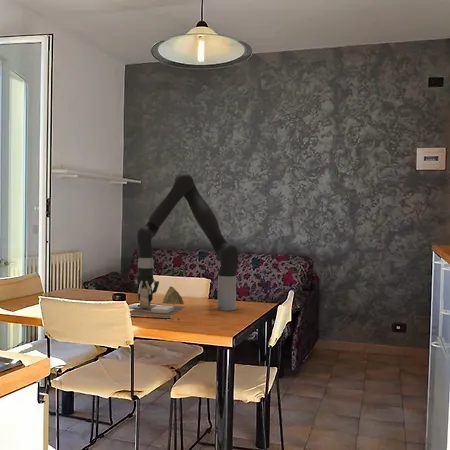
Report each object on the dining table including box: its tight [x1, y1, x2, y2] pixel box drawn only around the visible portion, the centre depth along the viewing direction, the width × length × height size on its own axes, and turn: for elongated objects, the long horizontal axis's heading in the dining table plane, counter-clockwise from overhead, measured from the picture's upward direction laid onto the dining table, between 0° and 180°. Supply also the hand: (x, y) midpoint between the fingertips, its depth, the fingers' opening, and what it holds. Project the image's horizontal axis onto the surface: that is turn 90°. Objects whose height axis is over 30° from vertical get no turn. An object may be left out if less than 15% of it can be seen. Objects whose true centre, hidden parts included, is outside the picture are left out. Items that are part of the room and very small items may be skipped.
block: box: [139, 287, 151, 307], centre depth 263 cm, size 4×4×9 cm
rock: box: [161, 286, 185, 305], centre depth 278 cm, size 11×9×10 cm
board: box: [130, 304, 186, 320], centre depth 258 cm, size 28×22×1 cm
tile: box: [151, 304, 175, 314], centre depth 255 cm, size 2×8×10 cm
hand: (145, 301), depth 263 cm, fingers open, 4 cm apart
